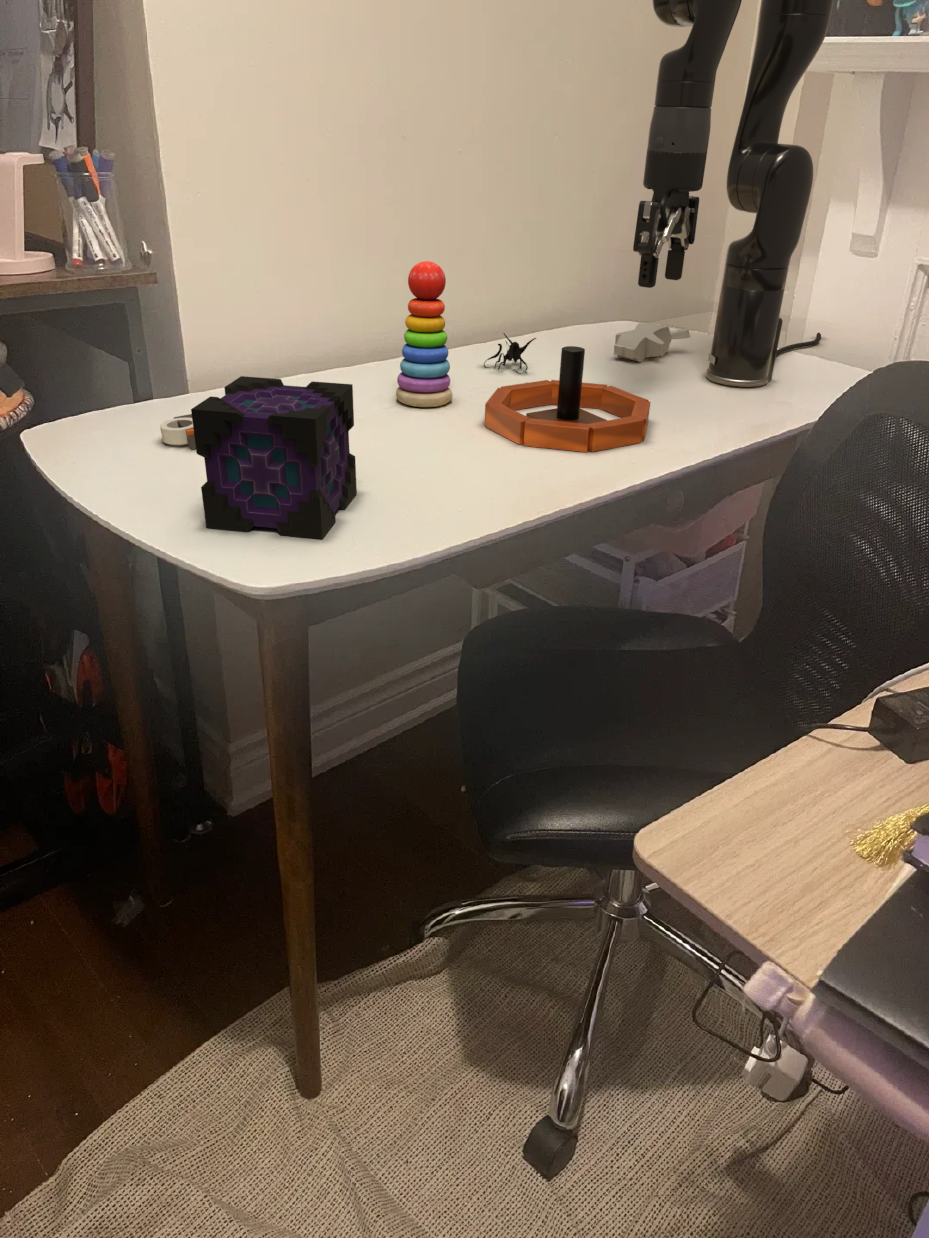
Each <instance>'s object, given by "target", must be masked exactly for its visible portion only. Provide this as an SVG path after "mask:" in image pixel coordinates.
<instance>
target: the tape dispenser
mask: <svg viewBox="0 0 929 1238" xmlns="http://www.w3.org/2000/svg"><path fill="white" fill-rule="evenodd" d="M159 429H160V434H161V439H162V442H163V443H165V444H167V445H174V446H178V445H179V446H180V445H186V446H187V447H188V448H189V449H190V450H192V451H193V450H196V444H195V437H194V429H193V421H192V413H189V414H184V415H177V416H174V417H173V418H171V419H167V420H165V421H163V422H161V423H160V424H159Z"/></svg>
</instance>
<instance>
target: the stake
mask: <svg viewBox="0 0 929 1238" xmlns="http://www.w3.org/2000/svg"><path fill="white" fill-rule="evenodd" d="M585 352H586V349H585V348H584V347H582V346H581V347H580V346H576V345H575V346H574V345H567V346H562V348H561V351H560V365H559V366H560V367H559V377H558V380H559V390H558V403H557V405H556V408H551V409H550V408H549V409H544V410H538V411H532V412H527V413H525V416H527V417H529V418H531V419H541V420H551V421H562V422H572V423H582V424H591V423H596V422H602V421H608V420H609V419H608V420H607V419H606V418H603V417H601V416H599V415H596V414H594V413H592V412H589V411H587V410H586V409H585V410H584V409H583V408H581V407H580V400H581V389H582V383H583V376H584V365H585V356H586V355H585V354H586V353H585Z"/></svg>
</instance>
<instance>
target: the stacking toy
mask: <svg viewBox="0 0 929 1238" xmlns="http://www.w3.org/2000/svg"><path fill="white" fill-rule="evenodd" d="M446 278H447V277H446V275H445V271H444V270H443V268H442V267H441V266H440V265H439V264H437V263H435V262H434V261H429V260H425V261H420V262H418V263H416V264H415V265H413V267H411V269H410V271H409V273H408V277H407V285H408V288H409V291H410V292H411V294H412V296H414V298H412V299H410V300H409V301H408V303H407V310H408V313H410V314H409V315H407V316H406V318H405V320H404V325H405V327H406V329H407V330H405V332H404V334H403V339H404V342H405V344H404V345H403V347H402V349H401V354H402V357H403V358H402V359H401V361H400V364H399V368H400V373H399V374H398V375H397V379H396V382H397V384H398V387H397V389H396V392H395V396H396V399H397V400H398V401H399V402H400V403H401V404H404V405H405V406H406V405H407V406H410V407H417V408H435V407H440V406H444V405H447V404H448V403H449V402H451V400H452V398H453V391H452V388H450V386H451V377H450V375H449V374H448V373H449V372H450V369H451V365H450V364H451V363H450V362H449V360H448V357H449V349H448V347H447V345H446V343H447V341H448V334H447V332H446V331H445V330H444V329H445V327H446V320H445V318H444V317H443V316H442V315H443V314H444V312H445V309H446V306H445V303H444V301H443V300H442V299H439V297H440V296H441V295H442V294H443V293H444V290H445V288H446V283H447V281H446Z"/></svg>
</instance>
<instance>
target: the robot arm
mask: <svg viewBox="0 0 929 1238" xmlns="http://www.w3.org/2000/svg"><path fill="white" fill-rule="evenodd" d="M651 1H652V9H653V13H654V14H655V16H656V17H657V19H658V20H659V22H660V23H662V24H663V25H665V26H668V27H672V28H683V27H684V28H686V27H687V28H688V27H691V30H690V32H689V35H688V37H687V39H686V41H685V43H684V44H683V45H682V46H681V47H679V48H675V49H674V50H670V51H668V52H666V53H665V54H663V56H661V59H660V61H659V65H658V70H657V77H656V84H655V93H654V94H655V95H654V103H653V105H654V106H653V110H652V115H651V119H650V123H649V129H648V137H647V147H646V155H645V164H644V173H643V182H642V183H643V184H642V185H643V187H644V188H645V189H647V190H652V192H653V193H652V198H651V200H640V201H639V203H638V210H637V218H636V224H635V231H634V239H633V246H632V250H633V252H634V253H635V252H636V253H638V255H639V256H640V263H639V270H638V271H639V272H638V281H637V285H638V286H639V287H641V288H647V289H651V288H654V287H655V286H656V284H657V278H658V277H657V275H658V267H659V260H660V257H659V256H660V254H661V251H662V249H663V245H664V244H666V243H667V245H668V250H667V255H666V263H665V270H664V278H665V279H666V280H670V281H679V280H681V279H682V277H683V269H684V263H685V255H686V253H685V252H686V251H688V249H689V246H690V245H694V243H695V240H696V239H695V238H696V231H697V223H698V215H699V206H700V196H693V195H690V192H698V191H700V190H701V189H702V188H703V184H704V177H705V170H706V164H707V163H706V162H707V156H708V149H709V142H710V135H711V125H712V124H711V123H712V122H711V121H712V106H713V100H714V93H715V85H716V84H715V83H716V78H717V72H718V69H719V65H720V63H721V60H722V57H723V55H724V52H725V50H726V47H727V43H728V41H729V37H730V35H731V33H732V30H733V28H734V26H735V22H736V19H737V17H738V14H739V11H740V8H741V5H742V0H651ZM834 3H835V0H760V5H759V12H758V21H757V25H756V35H755V42H754V48H753V54H752V60H751V65H750V69H749V75H748V79H747V87H746V91H745V96H744V101H743V105H742V108H741V109H742V110H741V114H740V117H739V122H738V126H737V130H736V133H735V137H734V142H733V144H732V145H733V146H732V148H731V152H730V153H731V154H730V157H729V162H728V166H727V173H726V181H725V183H726V184H725V185H726V188H725V190H726V196H727V199H728V201H729V204H730V206H731V207H733V208H734V209H735V210H736V211H739V212H742V213H748V214H749V213H750V214H754V215H755V220H754V223H753V226H752V229H751V230H750V232H749V233H748V234H747V235H745V236H743V237H741V238H739V239H736V240H733V241H731V242H730V243H729V244H728V246H727V248H726V249H727V250H726V254H725V260H724V268H723V273H722V280H721V287H720V293H719V300H718V306H717V313H716V317H715V318H716V319H715V325H714V330H713V337H712V344H711V348H710V349H711V350H710V353H708V358H707V361H708V362H709V363H708V368H707V370H706V378H707V379H708V380H709V381H711V382H714V383H717V384H720V385H723V386H730V387H738V388H755V387H761V386H765V385H766V384H768V383H769V382H771V381H772V378H773V373H774V369H775V363H776V357H777V356H778V355H780V354H782V353H785V352H788V351H790V350H794V349H800V348H805V347H810V346H814V345H817V344H819V342H820V341H821V339H822V333H821V332H817V333H816V337H815V339H814V340H810V341H804V342H796V343H793V344H788V345H786V346H783V347H780V348H779V342H780V337H781V332H782V327H783V318H781V317H780V315H781V310H782V305H783V301H784V294H785V288H786V283H787V278H788V273H789V267H790V263H791V260H792V259H791V258H792V256H793V254H794V252H795V250H796V248H797V246H798V244H799V241H800V238H801V234H802V230H803V227H804V223H805V218H806V213H807V210H808V206H809V201H810V198H811V193H812V189H813V182H814V162H813V158H812V155H811V154H810V152H809V151H808V149H807V148H805V147H804V146H801V145H799V144H791V143H790V144H788V143H779V139H780V132H781V128H782V125H783V124H782V123H783V118H784V115H785V111H786V108H787V105H788V103H789V101H790V98H791V96H792V95H793V92H794V90H795V89H796V87H797V86H798V85H799V82H800V80H801V79H802V77H803V76H804V74H805V73H806V71H807V70H808V68H809V66H810V65H811V63H812V62H813V60H814V59H815V57H816V55H817V53H818V52H819V50H820V48H821V47H822V45H823V42H824V40H825V39H826V36H827V32H828V30H829V28H830V23H831V18H832V13H833V12H832V11H833V8H834ZM820 333H821V334H820ZM778 348H779V349H778Z"/></svg>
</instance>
